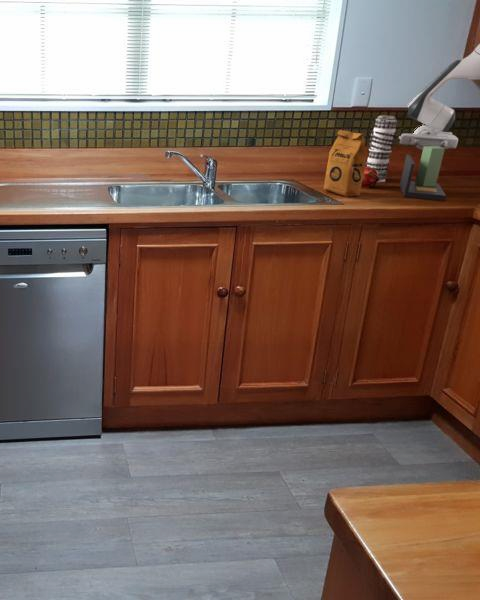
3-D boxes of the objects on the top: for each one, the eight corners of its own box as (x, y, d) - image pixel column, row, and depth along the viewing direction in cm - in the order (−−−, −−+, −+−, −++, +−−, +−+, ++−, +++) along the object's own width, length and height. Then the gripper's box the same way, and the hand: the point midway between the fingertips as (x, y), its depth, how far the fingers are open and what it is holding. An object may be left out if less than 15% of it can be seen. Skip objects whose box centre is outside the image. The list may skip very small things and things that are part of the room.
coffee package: (342, 198, 215) (354, 134, 207) (318, 190, 226) (329, 129, 218) (364, 196, 219) (377, 133, 210) (339, 189, 229) (351, 129, 221)
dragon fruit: (350, 186, 242) (374, 197, 232) (341, 175, 236) (365, 186, 227) (365, 168, 240) (389, 179, 231) (356, 157, 235) (380, 167, 226)
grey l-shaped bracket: (437, 188, 233) (445, 157, 228) (444, 201, 214) (453, 166, 209) (399, 185, 237) (406, 154, 233) (403, 197, 219) (411, 163, 214)
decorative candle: (391, 182, 243) (405, 117, 233) (370, 182, 242) (383, 117, 232) (377, 177, 251) (390, 114, 242) (357, 177, 250) (369, 114, 240)
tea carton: (427, 183, 232) (436, 146, 227) (435, 186, 227) (444, 148, 222) (415, 183, 232) (423, 146, 226) (423, 186, 227) (432, 148, 222)
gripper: (399, 128, 249) (402, 132, 237) (456, 132, 242) (461, 137, 230) (396, 144, 251) (398, 149, 239) (452, 148, 244) (457, 153, 232)
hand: (429, 143), depth 235 cm, fingers open, 8 cm apart
